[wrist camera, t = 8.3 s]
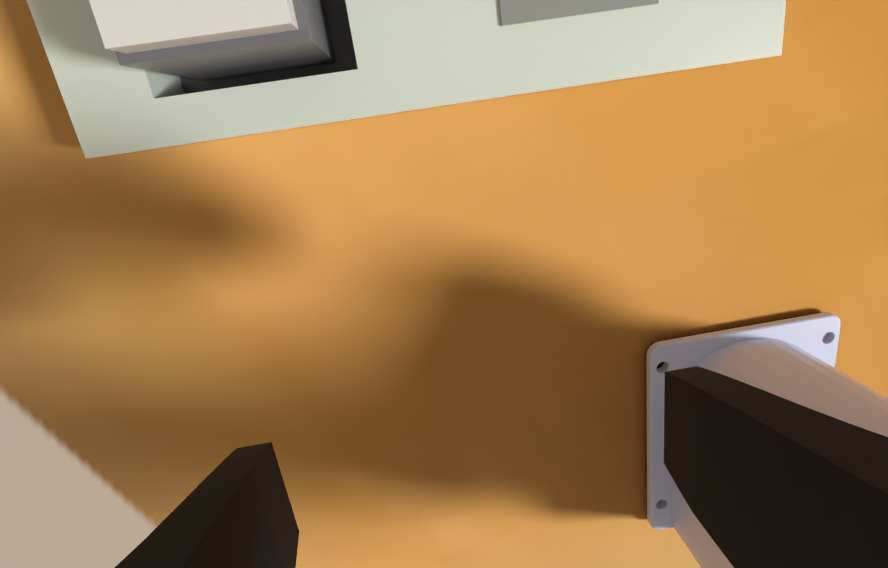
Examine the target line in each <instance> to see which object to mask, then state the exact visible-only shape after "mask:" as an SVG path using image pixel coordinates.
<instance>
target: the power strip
mask: <svg viewBox="0 0 888 568" xmlns="http://www.w3.org/2000/svg"><path fill="white" fill-rule="evenodd" d="M26 1H27V4H28V6H29V9H30V12H31V14H32V17H33V20H34V22H35V25H36V28H37V30H38V33H39V36H40V38H41V41H42V44H43V46H44V49H45V52H46V54H47V57H48V60H49V62H50V65H51V68H52V70H53V73H54V76H55V78H56V81H57V84H58V86H59V89H60V92H61V95H62V97H63V100H64V103H65V105H66V108H67V111H68V113H69V116H70V119H71V121H72V124H73V127H74V129H75V132H76V135H77V137H78V140H79V143H80V145H81V148H82V151H83V153H84V156H85V159H89V158H96V157H103V156H110V155H117V154H124V153H130V152H137V151H144V150H151V149H157V148H164V147H171V146H177V145H184V144H191V143H197V142H204V141H211V140H218V139H224V138H231V137H238V136H244V135H251V134H258V133H264V132H271V131H278V130H285V129H291V128H298V127H305V126H311V125H318V124H325V123H331V122H338V121H345V120H352V119H358V118H365V117H372V116H378V115H385V114H392V113H398V112H405V111H412V110H419V109H425V108H432V107H439V106H445V105H452V104H459V103H465V102H472V101H479V100H485V99H492V98H499V97H506V96H512V95H519V94H526V93H532V92H539V91H546V90H552V89H559V88H566V87H573V86H579V85H586V84H593V83H599V82H606V81H613V80H619V79H626V78H633V77H640V76H646V75H653V74H660V73H666V72H673V71H680V70H686V69H693V68H700V67H707V66H713V65H720V64H727V63H733V62H740V61H746V60H753V59H759V58H766V57H772V56H779V55H782V44H783V31H784V19H785V7H786V0H324V4H325V9H326V15H327V20H328V25H329V30H330V35H331V40H332V45H333V50H334V55H335V61H336V63H331V64H324V65H317V66H310V67H303V68H296V69H289V70H282V71H275V72H268V73H261V74H254V75H247V76H240V77H233V78H226V79H219V80H212V81H203V80H198V79H192V78H187V77H181V76H176V75H170V74H165V73H159V72H154V71H148V70H143V69H137V68H132V67H126V66H121V65H120V64H119V61H118V58H117V55H116V52H115V51H113V50H108V49H105V46H104V43H103V41H102V38H101V35H100V32H99V29H98V26H97V23H96V20H95V17H94V14H93V11H92V8H91V5H90V2H89V0H26Z"/></svg>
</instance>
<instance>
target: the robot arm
mask: <svg viewBox="0 0 888 568" xmlns="http://www.w3.org/2000/svg"><path fill="white" fill-rule="evenodd" d="M840 326H841V322H840V319H839V317H837V316H835V315H833V314H831V313H829V312H823V313H818V314H812V315H806V316H801V317H795V318H789V319H784V320H778V321H772V322H767V323H761V324H755V325H749V326H744V327H738V328H732V329H727V330H721V331H715V332H710V333H704V334H698V335H693V336H687V337H681V338H676V339H670V340H664V341H659V342H656V343H654V344H652V345H651V346H650V347H649V349H648V350H647V519H648V522H649V523H650V525H651V526H652V527H653V528H654V529H666V528H671V527H674V528H675V530H676V531H677V532H678V534H679V535H680V537H681V538H682V540H683V541H684V543H685V544H686V546H687V547H688V549H689V550H690V551H691V553H692V554H693V556H694V557H695V559H696V560H697V562H698V563H699V565H700V566H701V568H888V398H886V397H885V396H883V395H881V394H879V393H878V392H876V391H874V390H872V389H871V388H869V387H867V386H865V385H864V384H862V383H860V382H858V381H857V380H855V379H853V378H851V377H850V376H848V375H846V374H844V373H843V372H841V371H839V370H837V369H836V368H835V361H836V354H837V347H838V340H839V333H840ZM825 334H826V336H825V337H824V338H823V336H824V335H825ZM822 338H823V339H822ZM661 362H664V364H663V366H662V367H661V368H658V369H656V368H657V365H658V364H659V363H661ZM660 500H661V501H660ZM658 501H660V502H658ZM657 502H658V503H657ZM298 537H299V530H298V527H297V523H296V520H295V517H294V514H293V511H292V507H291V504H290V501H289V498H288V494H287V491H286V488H285V485H284V481H283V478H282V475H281V472H280V469H279V465H278V462H277V459H276V456H275V452H274V449H273V446H272V443H271V442H270V443H265V444H259V445H253V446H248V447H242V448H237V449H236V450H235V451H234V452H232V453H231V454H230V455H229V456H228V457H227V458H226V459H225V460H224V461H223V462H222V463H221V464H220V465H219V466H218V467H217V468H216V469H215V470H214V471H213V472H212V473H211V474H210V475H209V476H208V477H207V478H206V479H205V480H204V481H203V482H202V483H201V484H200V485H199V486H198V487H197V488H196V489H195V490H194V491H193V492H192V493H191V494H190V495H189V496H188V497H187V498H186V499H185V500H184V501H183V502H182V503H181V504H180V505H179V506H178V507H177V508H176V509H175V510H174V511H173V512H172V513H171V514H170V515H169V516H168V517H167V518H166V519H165V520H164V521H163V522H162V523H161V524H160V525H159V526H158V527H157V528H156V529H155V530H154V531H153V532H152V533H151V534H150V535H149V536H148V537H147V538H146V539H145V540H144V541H143V542H142V543H141V544H140V545H138V546H137V547H136V548H135V549H134V550H133V551H132V552H131V553H130V554H129V555H128V556H127V557H126V558H125V559H124V560H123V561H121V562H120V563H119V564H118V565H117V566H116V567H115V568H295V566H296V556H297V546H298Z"/></svg>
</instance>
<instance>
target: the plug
mask: <svg viewBox="0 0 888 568" xmlns="http://www.w3.org/2000/svg"><path fill="white" fill-rule="evenodd" d="M89 2H90V5H91V8H92V11H93V14H94V17H95V20H96V23H97V26H98V29H99V32H100V35H101V38H102V41H103V43H104V46H105V49H108V50H113V51H115V52H116V55H117V58H118V61H119V64H120V65H121V66H126V67H132V68H137V69H143V70H148V71H154V72H159V73H165V74H170V75H176V76H181V77H187V78H192V79H198V80H203V81H212V80H219V79H226V78H233V77H240V76H247V75H254V74H261V73H268V72H275V71H282V70H289V69H296V68H303V67H310V66H317V65H324V64H331V63H336V61H335V55H334V50H333V45H332V40H331V35H330V30H329V25H328V20H327V15H326V9H325V4H324V0H89Z"/></svg>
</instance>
